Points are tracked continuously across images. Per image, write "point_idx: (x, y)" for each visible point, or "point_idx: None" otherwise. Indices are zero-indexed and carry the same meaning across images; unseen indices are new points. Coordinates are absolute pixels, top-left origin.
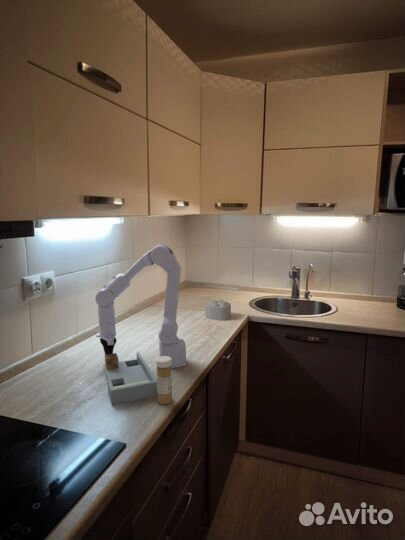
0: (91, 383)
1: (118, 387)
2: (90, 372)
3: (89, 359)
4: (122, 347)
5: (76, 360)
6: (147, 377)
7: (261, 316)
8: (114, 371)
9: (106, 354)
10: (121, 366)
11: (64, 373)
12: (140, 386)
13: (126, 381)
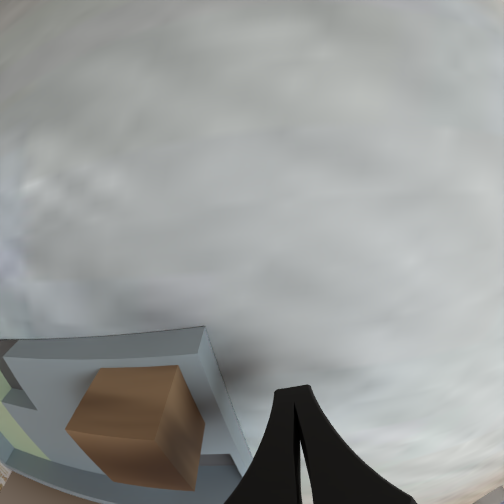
0: (26, 254)
1: None
2: (172, 230)
3: (444, 202)
4: (494, 378)
5: (449, 98)
6: (65, 465)
7: None
8: None
9: (160, 451)
10: None
11: (201, 16)
12: None
13: (18, 411)
